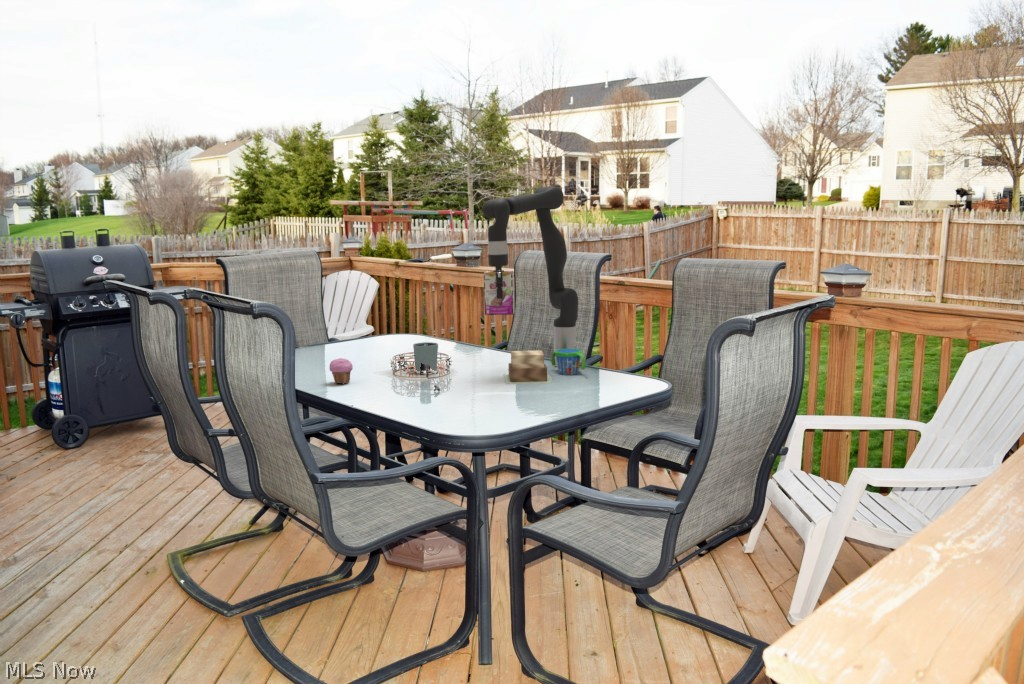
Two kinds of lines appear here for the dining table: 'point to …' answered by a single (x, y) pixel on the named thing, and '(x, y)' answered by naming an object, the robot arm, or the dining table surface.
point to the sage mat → (507, 381)
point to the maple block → (527, 359)
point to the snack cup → (568, 361)
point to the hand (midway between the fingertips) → (499, 297)
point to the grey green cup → (426, 355)
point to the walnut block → (527, 374)
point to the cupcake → (341, 370)
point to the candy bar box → (490, 294)
